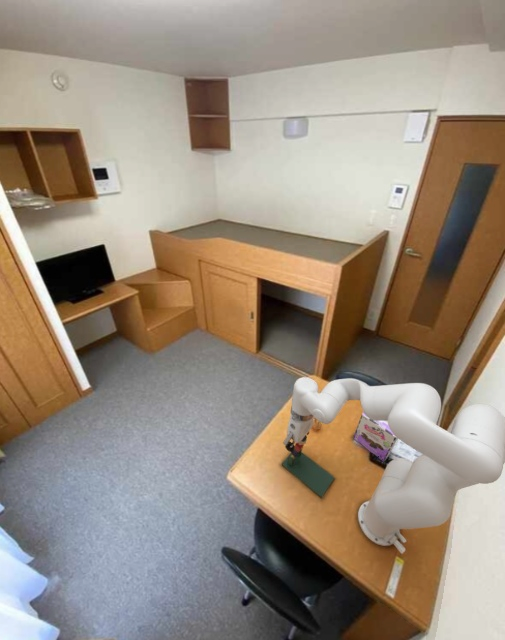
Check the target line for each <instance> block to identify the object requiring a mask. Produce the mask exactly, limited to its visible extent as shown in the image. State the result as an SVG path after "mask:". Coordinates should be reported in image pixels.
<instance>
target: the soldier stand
mask: <svg viewBox="0 0 505 640" xmlns="http://www.w3.org/2000/svg"><path fill="white" fill-rule="evenodd" d="M302 451H303V448H302V449H301V450H300V452H299V454H298V455H297V456H296V457H295V458H294V459H293V458H291V456H292V453H291V452H290V453H289V454H288V455H287V457H286V458H285V459H284V460H283V461H282V462H281V466H282V467H283V468H284V469H286V471H288V472H289V473H290V474H291V475H293V476H294V477H295V478H296V479H298V481H300V482H301V483H302V484H304V486H306V488H308V489H310V490H311V491H312V492H313V493H314V494H316V496H318V497H319V498H320V499H322V498H323V497H324V495H325V494H326V492H327V491H328V489H329V488H330V487H331V485H332V483H333V482H334V480H335V476H333V475H332V474H331V473H329V472H328V471H327V470H325V469H324V468H323V467H321V466H320V465H319V464H318V463H317V462H315V461H314V460H313V459H311V458H310V457H309V456H307V455H306V454H305V453H303V452H302Z"/></svg>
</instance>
